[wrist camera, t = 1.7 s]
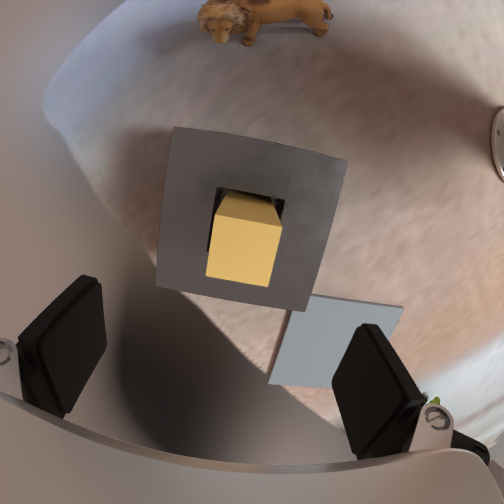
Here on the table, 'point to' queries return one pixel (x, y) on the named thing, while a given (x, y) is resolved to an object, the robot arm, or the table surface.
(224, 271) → the peg
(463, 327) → the table surface
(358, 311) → the mat
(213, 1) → the brown animal figure
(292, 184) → the hole block
